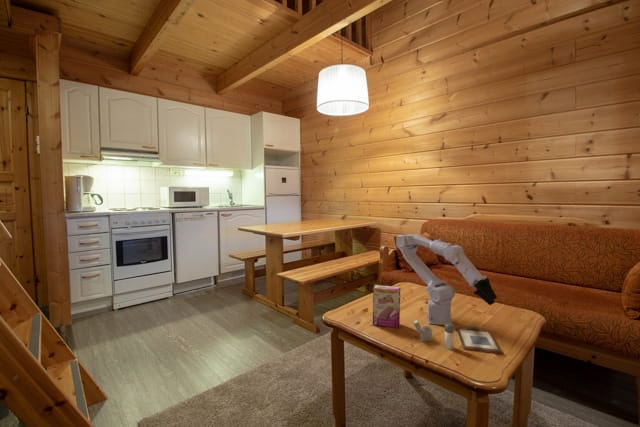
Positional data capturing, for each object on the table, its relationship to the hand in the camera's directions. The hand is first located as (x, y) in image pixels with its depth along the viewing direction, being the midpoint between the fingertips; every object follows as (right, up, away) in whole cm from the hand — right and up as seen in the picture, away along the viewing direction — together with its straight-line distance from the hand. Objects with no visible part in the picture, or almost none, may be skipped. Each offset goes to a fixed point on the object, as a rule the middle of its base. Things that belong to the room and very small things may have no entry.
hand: (493, 301), depth 109 cm
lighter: (-25, -16, +4) cm, 30 cm away
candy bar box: (-35, -15, +18) cm, 42 cm away
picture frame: (-4, -16, +4) cm, 17 cm away
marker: (-17, -16, -1) cm, 24 cm away
